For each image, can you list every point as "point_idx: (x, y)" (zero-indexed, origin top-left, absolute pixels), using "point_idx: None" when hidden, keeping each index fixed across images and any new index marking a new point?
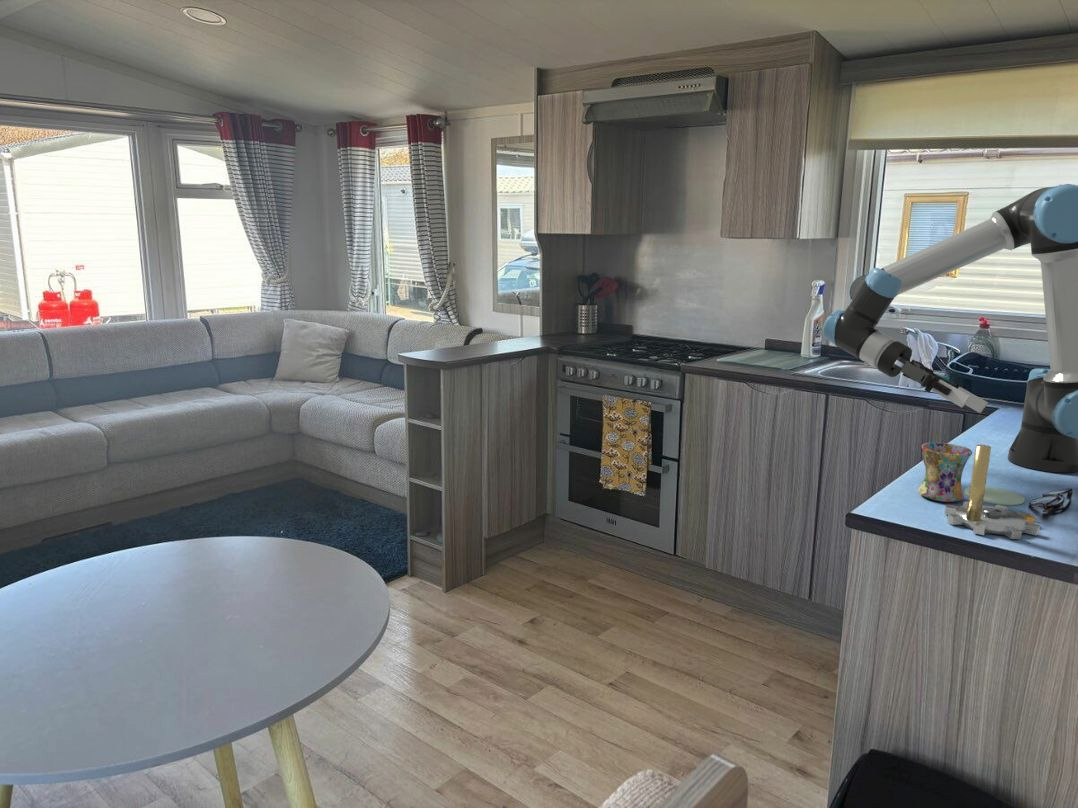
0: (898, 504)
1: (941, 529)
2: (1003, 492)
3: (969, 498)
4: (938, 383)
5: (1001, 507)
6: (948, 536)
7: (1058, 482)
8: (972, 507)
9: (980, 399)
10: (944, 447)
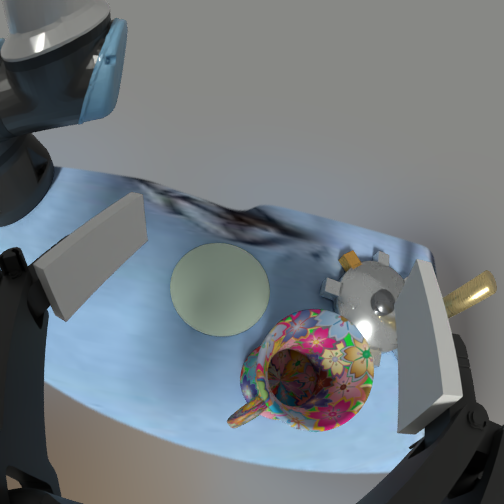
0: (354, 438)
1: None
2: (198, 268)
3: None
4: (471, 395)
5: (335, 286)
6: None
7: (97, 182)
8: None
9: (126, 210)
10: (264, 375)
